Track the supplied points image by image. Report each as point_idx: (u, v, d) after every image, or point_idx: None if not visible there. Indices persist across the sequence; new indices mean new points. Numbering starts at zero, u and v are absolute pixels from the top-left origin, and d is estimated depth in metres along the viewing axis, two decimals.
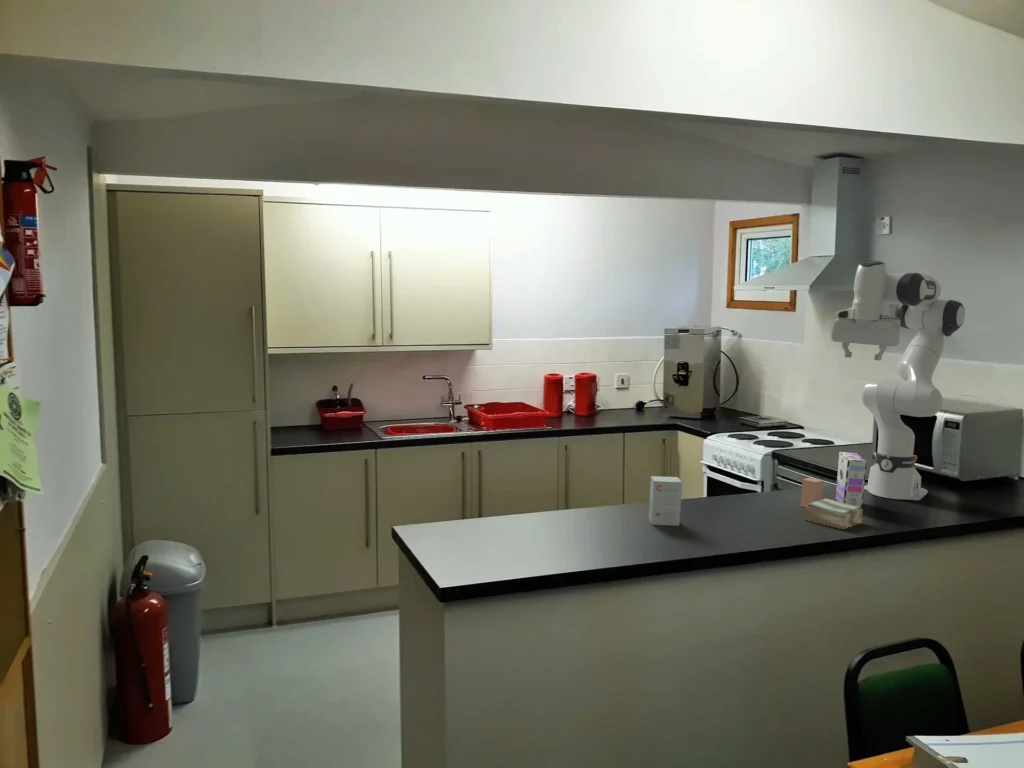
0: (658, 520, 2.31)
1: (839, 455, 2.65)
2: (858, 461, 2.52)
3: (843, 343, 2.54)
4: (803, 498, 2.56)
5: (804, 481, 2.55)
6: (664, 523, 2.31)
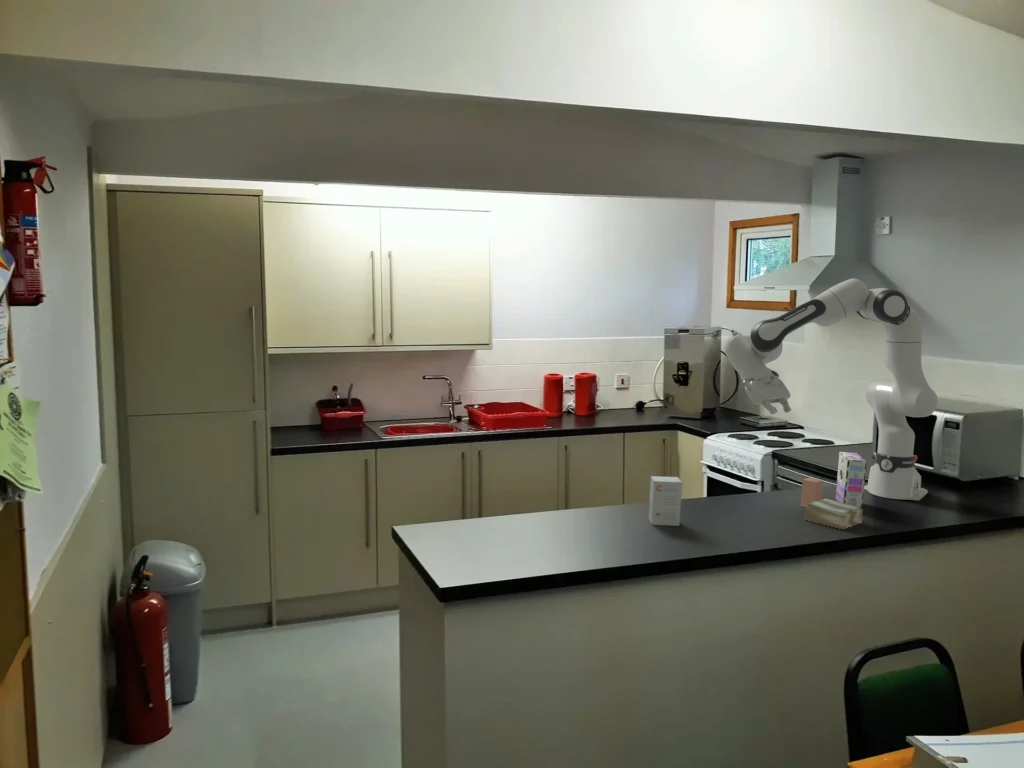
0: (658, 520, 2.31)
1: (839, 455, 2.65)
2: (858, 461, 2.52)
3: None
4: (803, 498, 2.56)
5: (804, 481, 2.55)
6: (664, 523, 2.31)
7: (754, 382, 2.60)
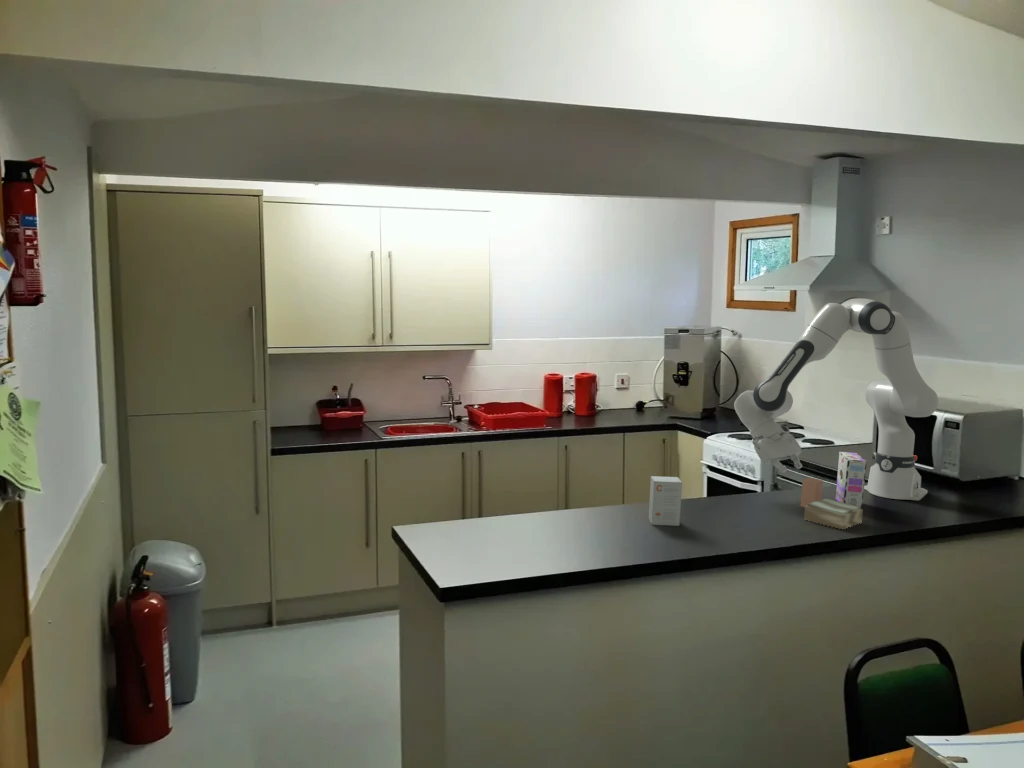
0: (658, 520, 2.31)
1: (839, 455, 2.65)
2: (858, 461, 2.52)
3: None
4: (803, 498, 2.56)
5: (804, 481, 2.55)
6: (664, 523, 2.31)
7: (763, 441, 2.59)
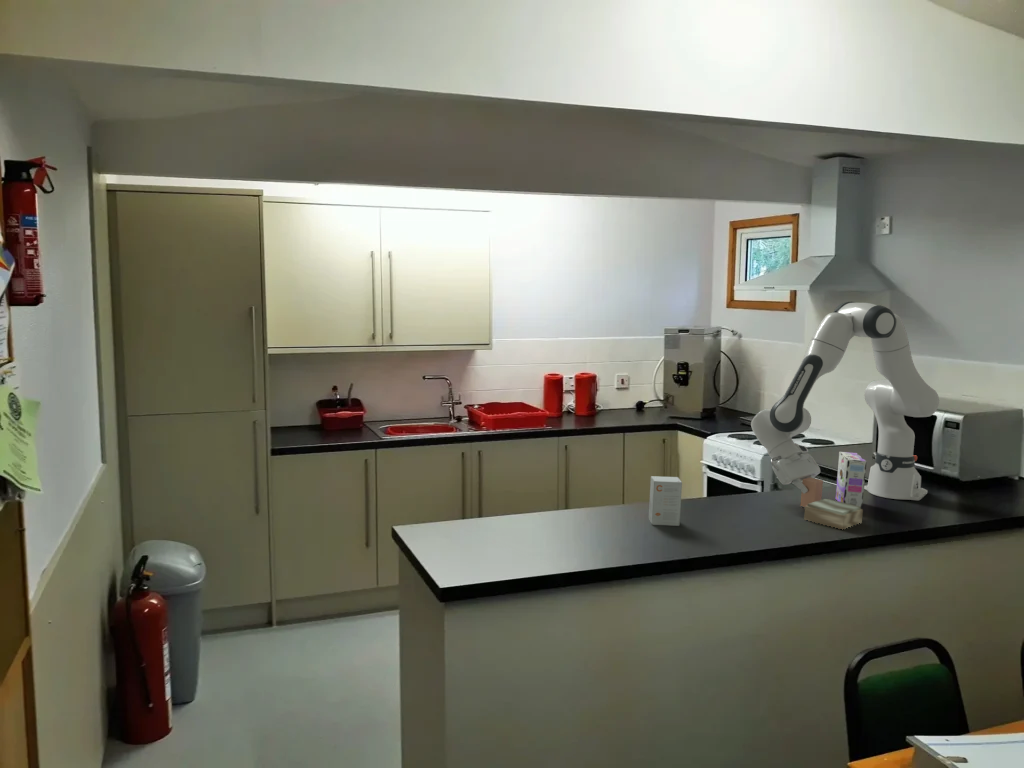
0: (658, 520, 2.31)
1: (839, 455, 2.65)
2: (858, 461, 2.52)
3: None
4: (803, 498, 2.56)
5: (804, 481, 2.55)
6: (664, 523, 2.31)
7: (782, 461, 2.55)
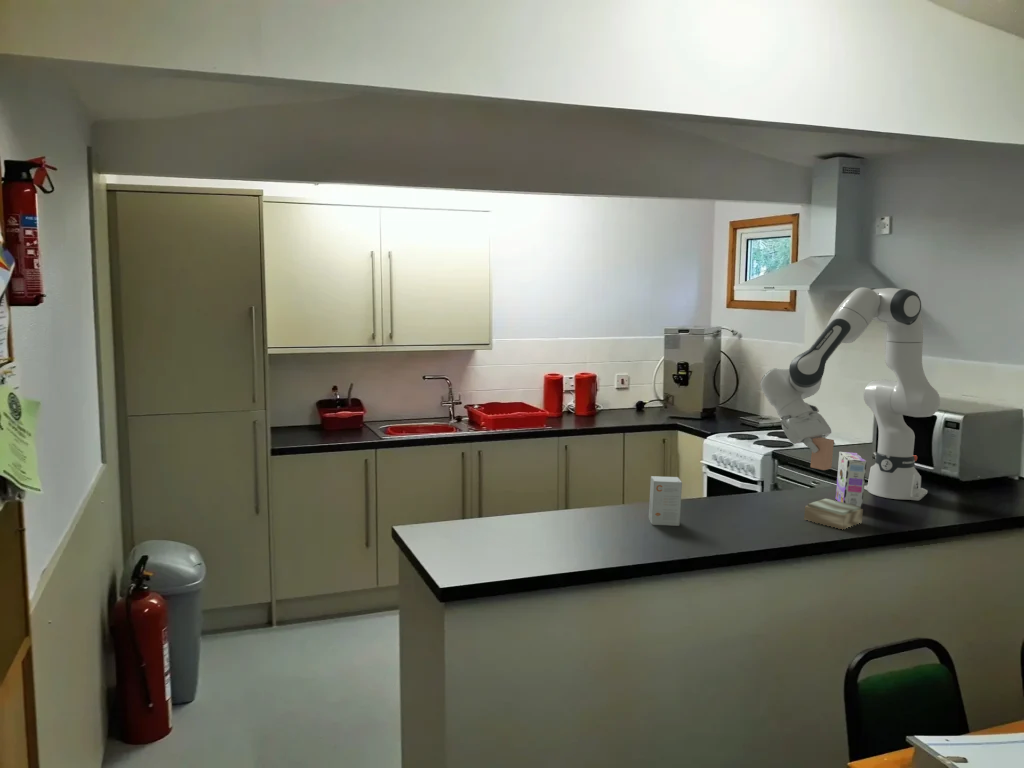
0: (658, 520, 2.31)
1: (839, 455, 2.65)
2: (858, 461, 2.52)
3: None
4: (813, 458, 2.49)
5: (814, 440, 2.48)
6: (664, 523, 2.31)
7: (791, 420, 2.48)
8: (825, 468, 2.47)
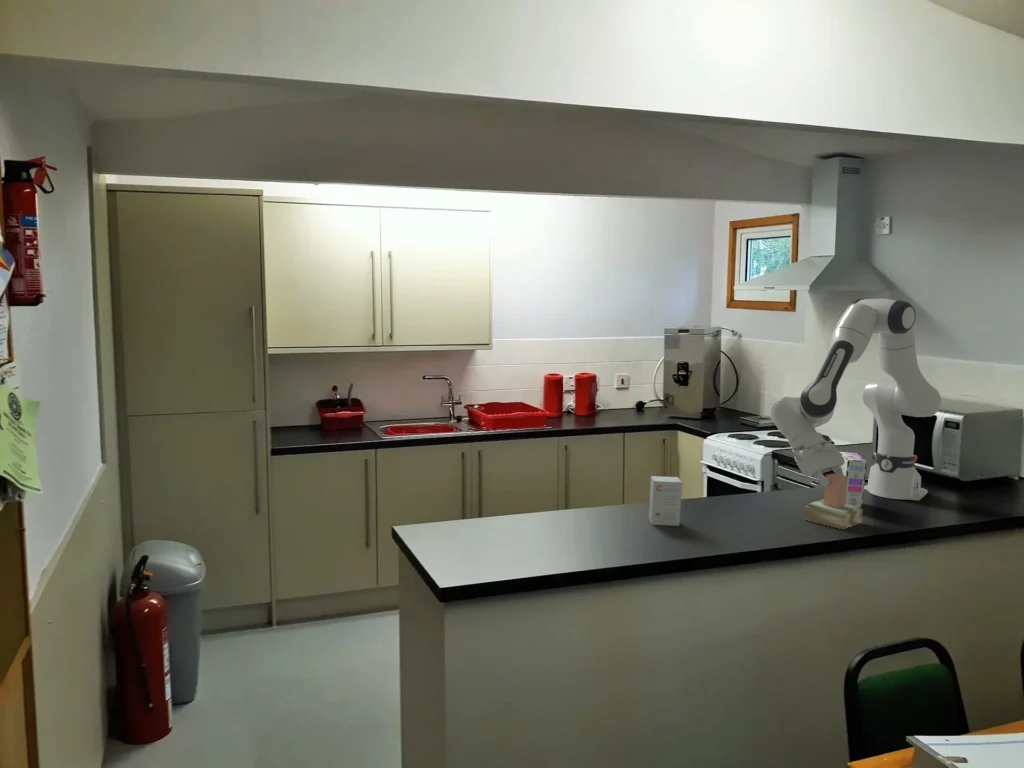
0: (658, 520, 2.31)
1: None
2: (858, 461, 2.52)
3: None
4: (826, 495, 2.41)
5: (827, 477, 2.40)
6: (664, 523, 2.31)
7: (804, 451, 2.39)
8: (839, 506, 2.39)
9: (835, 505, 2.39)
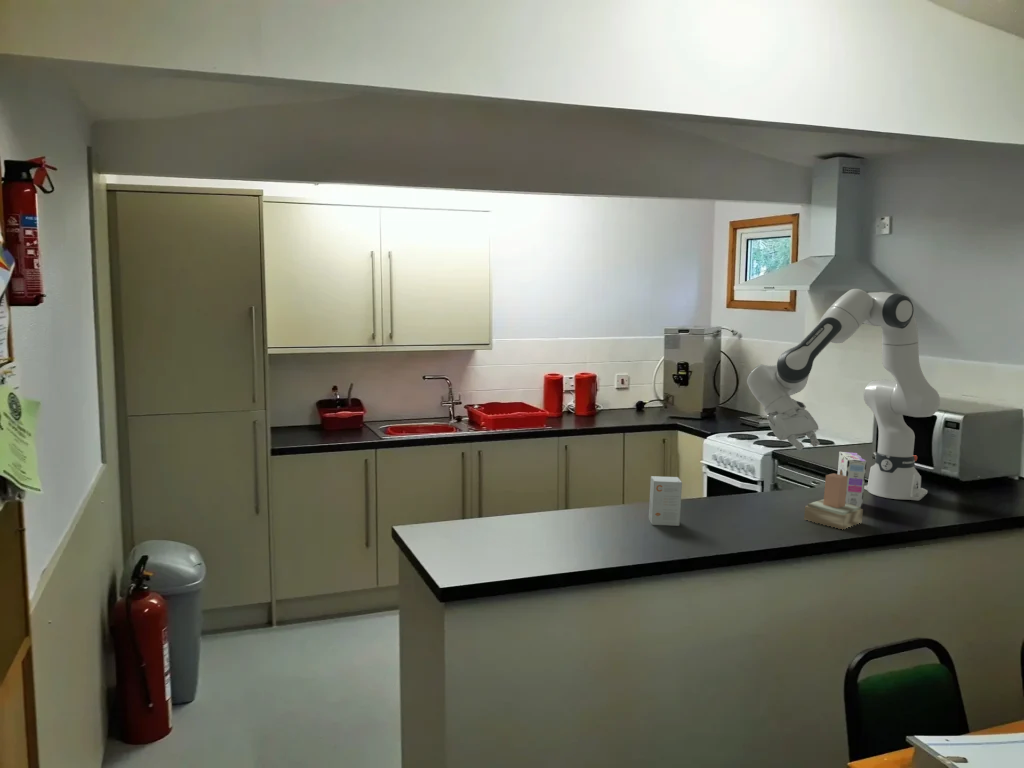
0: (658, 520, 2.31)
1: (839, 455, 2.65)
2: (858, 461, 2.52)
3: None
4: (826, 495, 2.41)
5: (827, 477, 2.40)
6: (664, 523, 2.31)
7: (778, 416, 2.45)
8: (839, 506, 2.39)
9: (835, 505, 2.39)
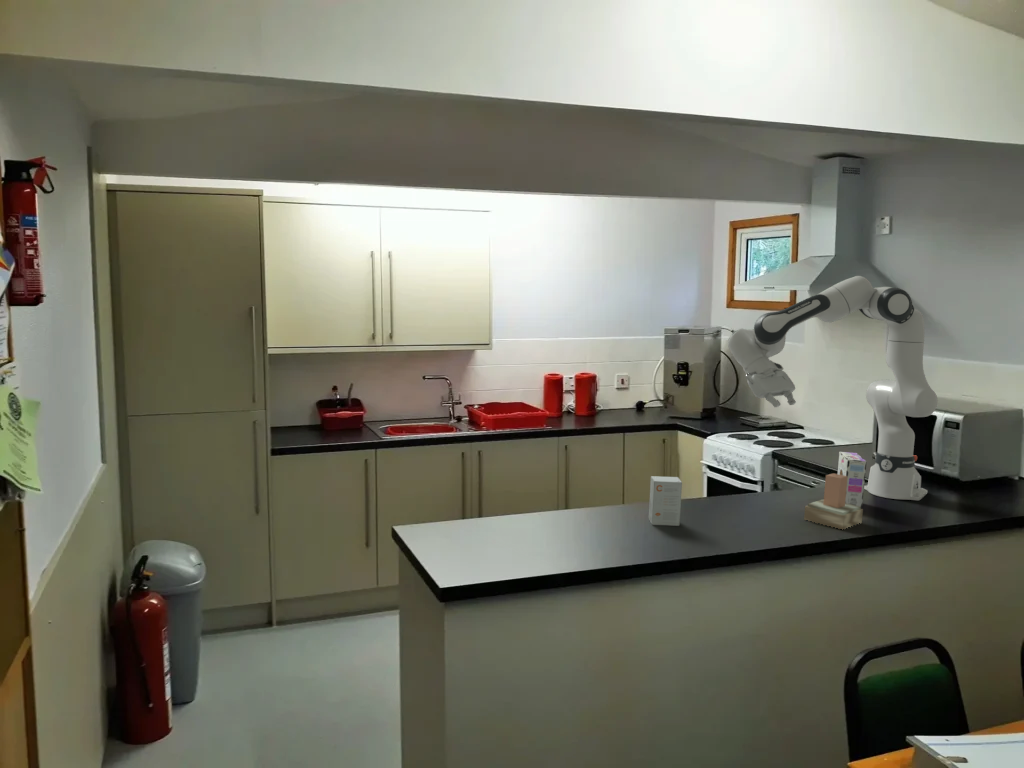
0: (658, 520, 2.31)
1: (839, 455, 2.65)
2: (858, 461, 2.52)
3: None
4: (826, 495, 2.41)
5: (827, 477, 2.40)
6: (664, 523, 2.31)
7: (756, 376, 2.60)
8: (839, 506, 2.39)
9: (835, 505, 2.39)
